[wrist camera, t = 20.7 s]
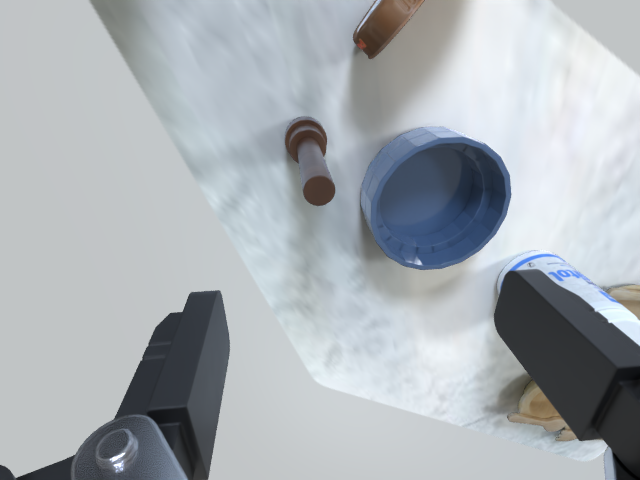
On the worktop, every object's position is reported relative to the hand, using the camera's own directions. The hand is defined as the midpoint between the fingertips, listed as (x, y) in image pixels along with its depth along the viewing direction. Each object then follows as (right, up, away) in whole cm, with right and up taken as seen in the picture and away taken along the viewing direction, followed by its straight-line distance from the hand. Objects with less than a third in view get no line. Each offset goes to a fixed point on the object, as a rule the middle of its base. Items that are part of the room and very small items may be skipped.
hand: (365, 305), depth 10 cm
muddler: (-3, +13, +29) cm, 32 cm away
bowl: (+11, +8, +34) cm, 36 cm away
